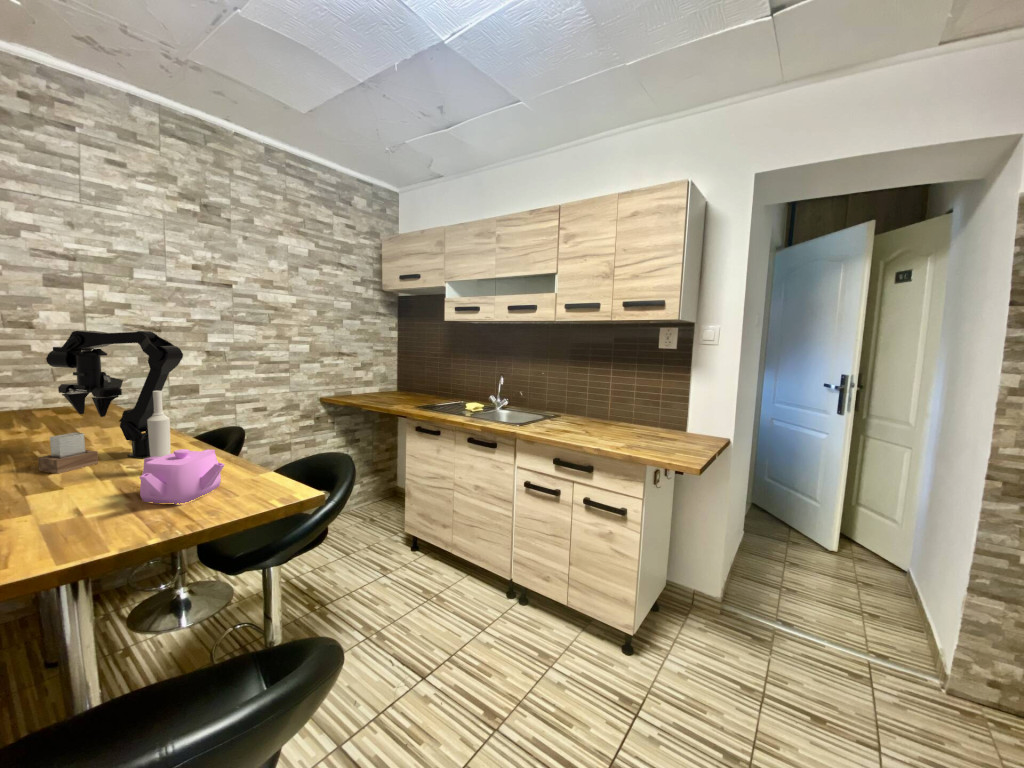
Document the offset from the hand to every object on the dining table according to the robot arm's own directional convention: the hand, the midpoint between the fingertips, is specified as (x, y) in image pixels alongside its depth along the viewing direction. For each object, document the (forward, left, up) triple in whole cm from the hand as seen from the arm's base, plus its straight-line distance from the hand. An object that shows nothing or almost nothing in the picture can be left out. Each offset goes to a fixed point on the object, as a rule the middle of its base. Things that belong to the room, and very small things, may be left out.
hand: (92, 415), depth 134 cm
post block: (-9, +12, -13) cm, 20 cm away
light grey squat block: (-9, +12, -12) cm, 19 cm away
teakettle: (-58, +17, -13) cm, 62 cm away
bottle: (-36, +6, -13) cm, 39 cm away
